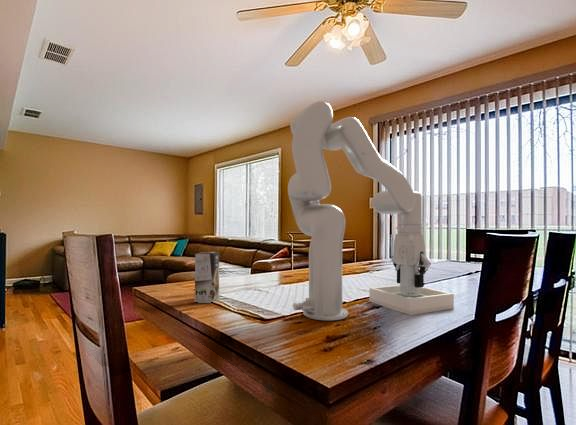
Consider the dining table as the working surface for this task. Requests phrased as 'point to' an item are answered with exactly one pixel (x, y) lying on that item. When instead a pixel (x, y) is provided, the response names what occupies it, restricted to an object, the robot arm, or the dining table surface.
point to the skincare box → (408, 280)
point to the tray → (411, 299)
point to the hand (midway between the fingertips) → (409, 284)
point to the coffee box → (206, 277)
